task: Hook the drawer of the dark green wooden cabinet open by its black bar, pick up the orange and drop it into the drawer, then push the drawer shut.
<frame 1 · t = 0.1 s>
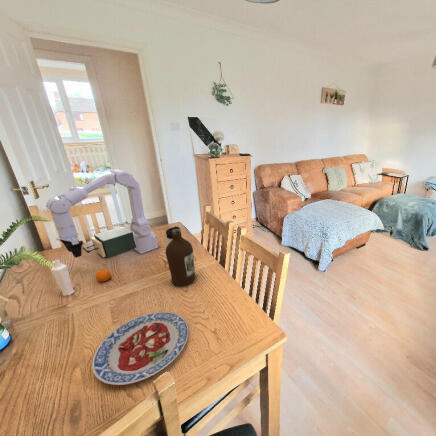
hand: (75, 253, 105), 10 cm above the table, tool pointing down, fingers open, 7 cm apart
ceramic plate: (145, 347, 76), on the table
orange: (104, 280, 105), on the table
drawer: (105, 244, 124), point 5 cm above the table, slide at 0.5 cm
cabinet: (117, 249, 129), on the table
perfume bottle: (68, 293, 97), on the table
brown bottle: (184, 280, 107), on the table
travel mug: (179, 266, 117), on the table
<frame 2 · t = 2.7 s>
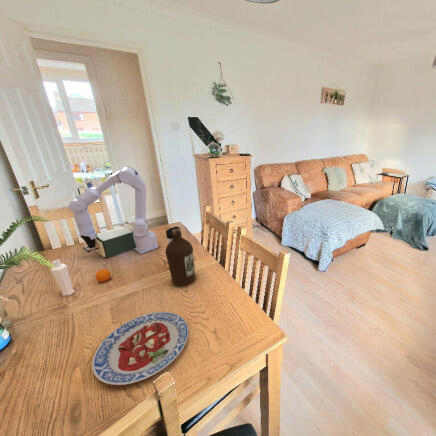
hand: (92, 247, 119), 5 cm above the table, tool pointing down, fingers closed
nothing on the table moved.
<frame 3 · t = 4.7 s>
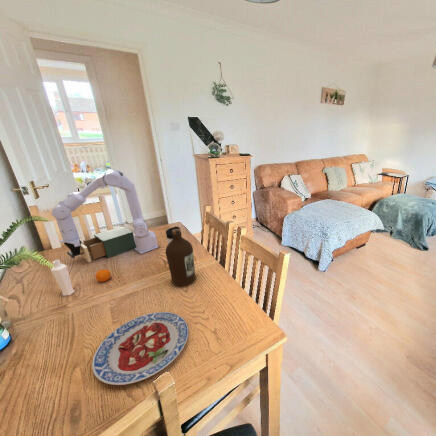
hand: (76, 254, 115), 4 cm above the table, tool pointing down, fingers closed, pressing on drawer
drawer: (91, 248, 119), point 5 cm above the table, slide at 6.4 cm, touching gripper
everything else where it was.
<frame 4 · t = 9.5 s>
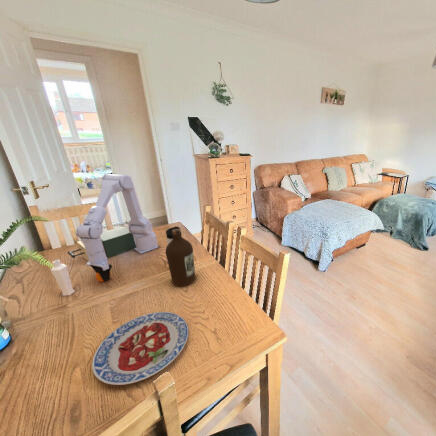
hand: (103, 277, 104), 1 cm above the table, tool pointing down, fingers closed on orange, 5 cm apart
orange: (104, 280, 105), on the table, touching gripper
drawer: (92, 248, 119), point 5 cm above the table, slide at 6.2 cm
everything else where it was.
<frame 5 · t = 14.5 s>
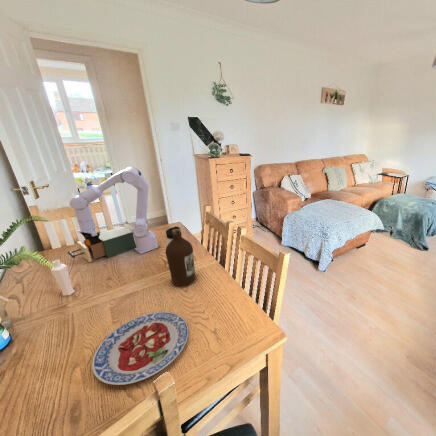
hand: (93, 244, 119), 7 cm above the table, tool pointing down, fingers closed on orange, 5 cm apart
orange: (94, 247, 120), point 5 cm above the table, touching gripper
drawer: (92, 248, 119), point 5 cm above the table, slide at 6.2 cm, touching gripper
everything else where it was.
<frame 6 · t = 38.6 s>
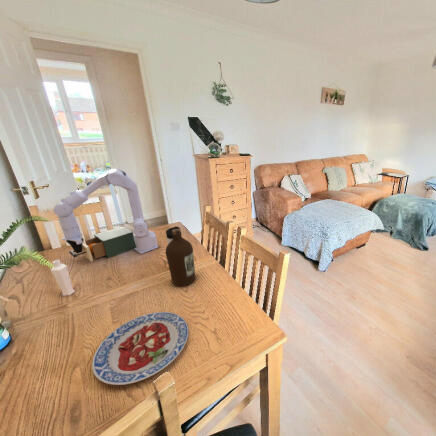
hand: (79, 252, 115), 5 cm above the table, tool pointing down, fingers closed
orange: (96, 252, 121), point 2 cm above the table, tilted 18°, touching drawer
drawer: (93, 248, 120), point 5 cm above the table, slide at 5.7 cm, touching orange
everything else where it was.
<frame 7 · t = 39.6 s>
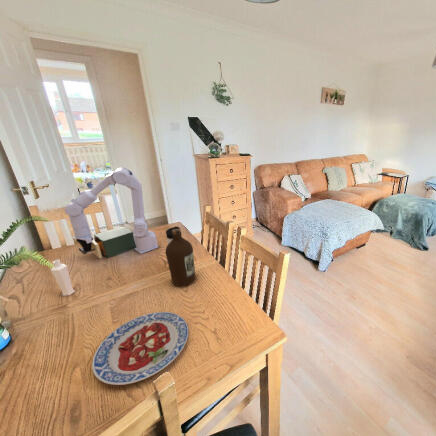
hand: (88, 251, 118), 4 cm above the table, tool pointing down, fingers closed, pressing on drawer
orange: (105, 249, 124), point 2 cm above the table, tilted 18°, touching drawer
drawer: (102, 245, 123), point 5 cm above the table, slide at 2.0 cm, touching gripper, orange
everything else where it was.
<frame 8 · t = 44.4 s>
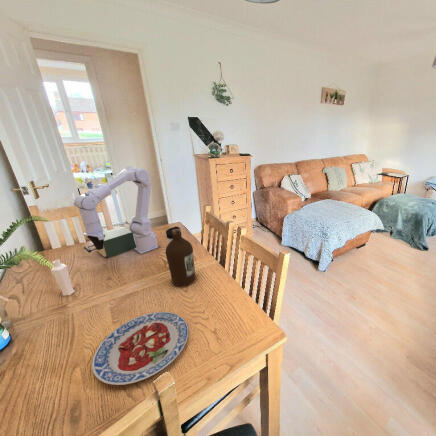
hand: (100, 249, 109), 10 cm above the table, tool pointing down, fingers closed
orange: (110, 244, 126), point 4 cm above the table, tilted 70°, touching drawer
drawer: (106, 244, 124), point 5 cm above the table, slide at 0.0 cm, touching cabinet, orange
everything else where it was.
at the end: drawer pulled out 6.4 cm at the most during the clip, back to where it started at the end; orange inside the target area in the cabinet (2.1 cm from its centre), point 3.7 cm above the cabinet's base; drawer slide at 0.0 cm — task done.
